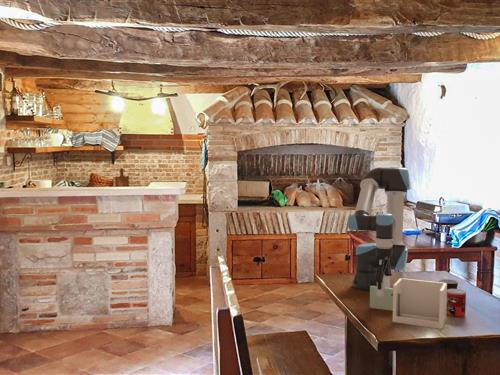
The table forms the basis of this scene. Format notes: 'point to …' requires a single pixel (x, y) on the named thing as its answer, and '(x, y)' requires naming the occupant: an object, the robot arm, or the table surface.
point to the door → (381, 298)
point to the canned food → (456, 303)
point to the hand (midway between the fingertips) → (383, 292)
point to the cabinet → (420, 302)
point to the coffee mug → (450, 283)
